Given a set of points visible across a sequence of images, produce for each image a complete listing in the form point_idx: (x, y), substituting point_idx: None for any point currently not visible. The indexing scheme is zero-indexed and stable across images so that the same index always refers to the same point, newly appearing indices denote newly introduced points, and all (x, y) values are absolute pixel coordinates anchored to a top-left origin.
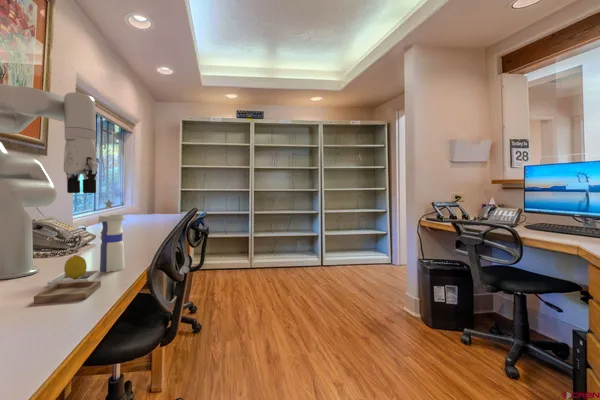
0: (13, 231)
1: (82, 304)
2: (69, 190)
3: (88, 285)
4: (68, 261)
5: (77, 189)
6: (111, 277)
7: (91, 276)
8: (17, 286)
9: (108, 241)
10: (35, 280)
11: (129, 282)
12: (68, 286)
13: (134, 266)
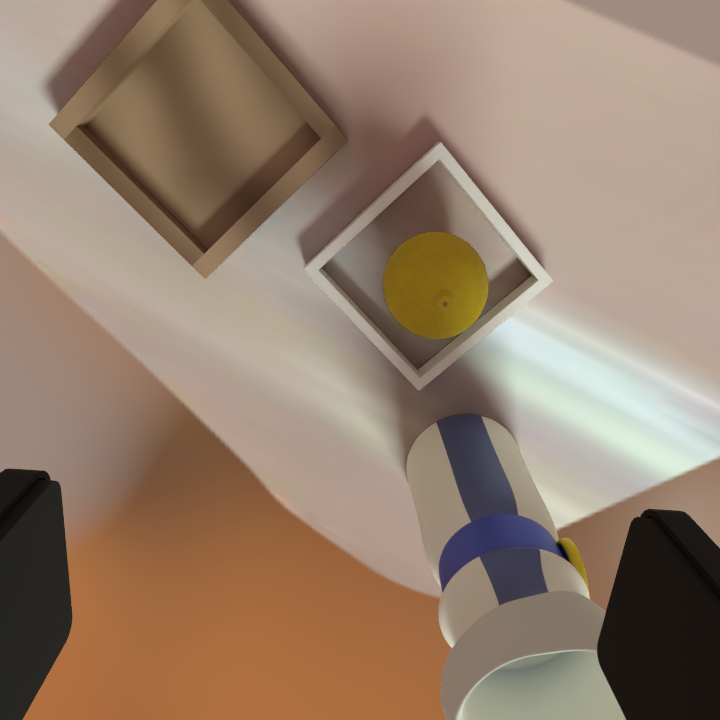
0: None
1: (7, 82)
2: (651, 544)
3: (228, 228)
4: (435, 252)
5: (626, 671)
6: (317, 379)
7: (340, 305)
8: (583, 66)
9: (466, 530)
10: (614, 168)
11: (160, 370)
12: (290, 168)
13: (411, 543)
